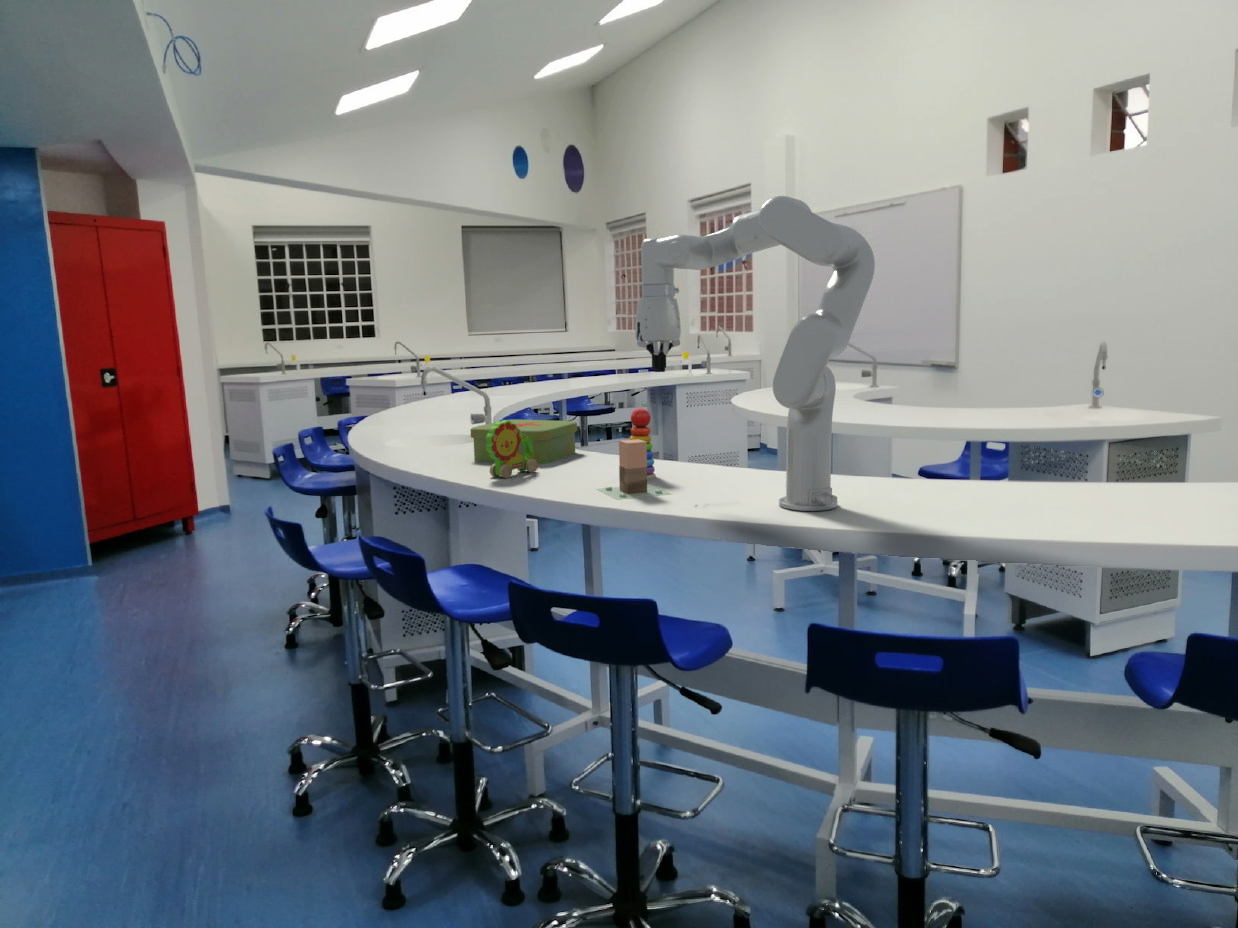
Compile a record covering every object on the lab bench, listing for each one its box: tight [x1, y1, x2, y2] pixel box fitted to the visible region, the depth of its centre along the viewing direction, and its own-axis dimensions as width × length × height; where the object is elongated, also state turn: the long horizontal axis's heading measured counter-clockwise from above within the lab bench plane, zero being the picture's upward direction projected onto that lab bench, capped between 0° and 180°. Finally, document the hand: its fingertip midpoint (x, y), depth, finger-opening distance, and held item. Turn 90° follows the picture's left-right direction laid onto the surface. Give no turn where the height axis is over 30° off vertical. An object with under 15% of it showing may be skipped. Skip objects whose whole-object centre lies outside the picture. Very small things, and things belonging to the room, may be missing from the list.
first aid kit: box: [470, 419, 578, 465], centre depth 273 cm, size 26×26×10 cm
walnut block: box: [618, 465, 648, 494], centre depth 209 cm, size 5×5×6 cm
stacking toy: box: [629, 407, 657, 480], centre depth 226 cm, size 8×8×19 cm
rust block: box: [618, 439, 647, 469], centre depth 208 cm, size 5×5×6 cm
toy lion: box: [486, 419, 539, 479], centre depth 239 cm, size 16×5×15 cm, turn 141°
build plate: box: [595, 483, 673, 501], centre depth 209 cm, size 14×14×2 cm
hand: (659, 371), depth 209 cm, fingers closed
